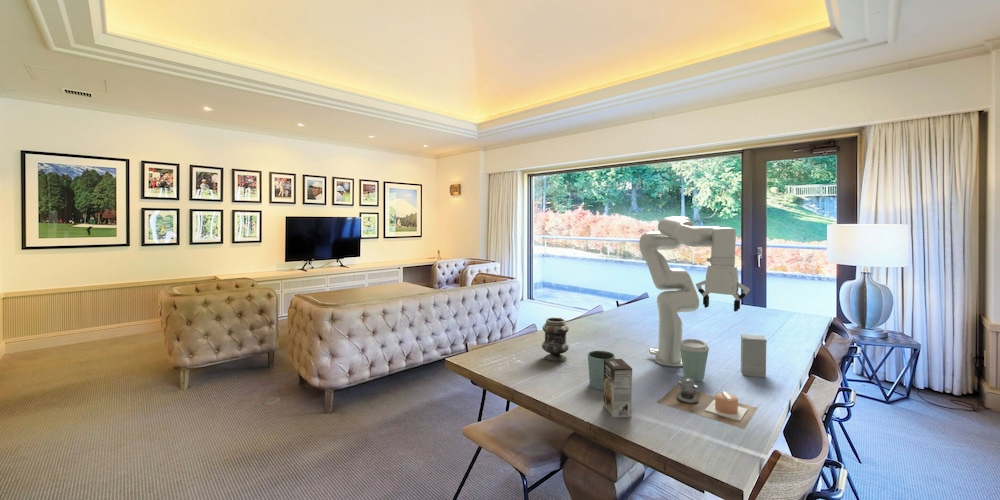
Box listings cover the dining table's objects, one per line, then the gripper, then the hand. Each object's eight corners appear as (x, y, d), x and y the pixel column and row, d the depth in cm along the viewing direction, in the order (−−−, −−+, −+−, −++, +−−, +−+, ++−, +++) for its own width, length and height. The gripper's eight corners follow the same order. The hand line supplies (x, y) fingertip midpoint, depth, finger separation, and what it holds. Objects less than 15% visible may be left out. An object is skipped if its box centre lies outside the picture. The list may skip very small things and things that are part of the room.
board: (656, 404, 136) (656, 402, 136) (675, 388, 149) (675, 385, 149) (744, 432, 119) (744, 428, 119) (757, 410, 132) (757, 407, 132)
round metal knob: (673, 399, 138) (673, 379, 137) (680, 393, 143) (680, 374, 142) (694, 406, 133) (695, 385, 133) (701, 399, 138) (702, 379, 138)
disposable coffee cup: (706, 387, 150) (708, 348, 149) (675, 381, 156) (676, 343, 155) (709, 378, 159) (710, 340, 158) (679, 372, 165) (680, 336, 164)
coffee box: (602, 405, 136) (603, 358, 135) (620, 404, 137) (621, 357, 136) (612, 418, 127) (613, 368, 126) (631, 417, 128) (632, 367, 127)
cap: (712, 404, 134) (712, 390, 133) (733, 405, 132) (734, 391, 132) (718, 413, 127) (719, 398, 127) (740, 415, 126) (741, 400, 126)
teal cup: (599, 393, 146) (600, 360, 145) (581, 383, 155) (582, 352, 154) (620, 387, 151) (621, 356, 150) (601, 378, 159) (602, 348, 159)
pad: (704, 411, 130) (704, 409, 130) (713, 400, 137) (713, 399, 137) (740, 421, 123) (740, 420, 123) (747, 410, 130) (747, 408, 130)
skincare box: (763, 372, 164) (764, 334, 163) (766, 379, 158) (768, 339, 157) (739, 369, 168) (740, 332, 167) (741, 375, 161) (742, 337, 160)
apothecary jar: (572, 357, 184) (573, 318, 183) (562, 365, 174) (562, 324, 173) (548, 352, 191) (549, 315, 189) (537, 359, 181) (537, 320, 179)
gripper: (693, 261, 148) (692, 307, 149) (748, 264, 136) (745, 314, 137) (700, 259, 153) (698, 304, 154) (752, 262, 141) (750, 310, 143)
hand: (720, 308), depth 146 cm, fingers open, 9 cm apart
